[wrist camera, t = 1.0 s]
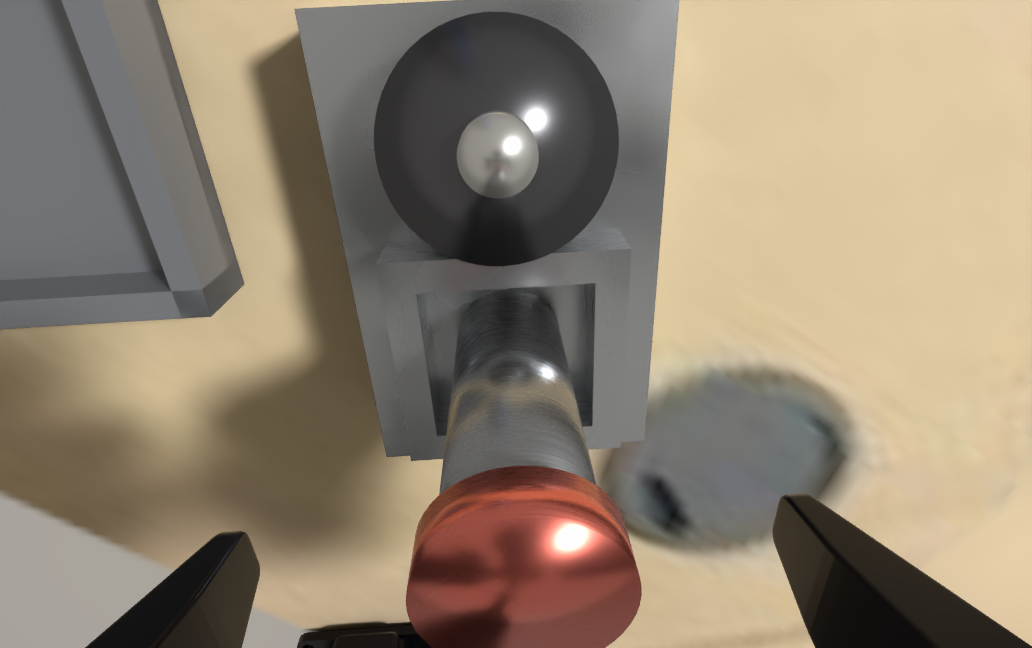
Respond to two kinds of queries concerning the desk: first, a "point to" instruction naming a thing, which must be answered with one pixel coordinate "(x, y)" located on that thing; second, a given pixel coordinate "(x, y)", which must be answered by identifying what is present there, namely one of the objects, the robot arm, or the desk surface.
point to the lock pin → (518, 500)
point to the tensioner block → (497, 187)
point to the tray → (102, 172)
